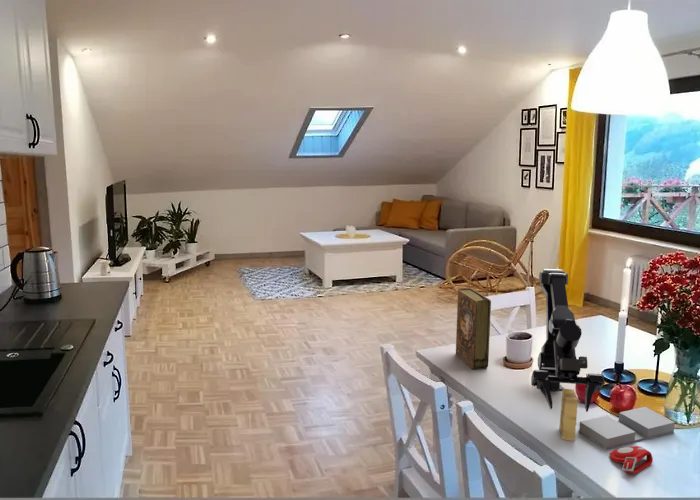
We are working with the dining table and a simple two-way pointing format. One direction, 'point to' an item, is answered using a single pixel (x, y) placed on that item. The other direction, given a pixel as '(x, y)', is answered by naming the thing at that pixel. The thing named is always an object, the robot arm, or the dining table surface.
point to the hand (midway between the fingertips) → (569, 409)
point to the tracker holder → (632, 458)
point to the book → (473, 328)
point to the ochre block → (568, 414)
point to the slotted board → (626, 427)
